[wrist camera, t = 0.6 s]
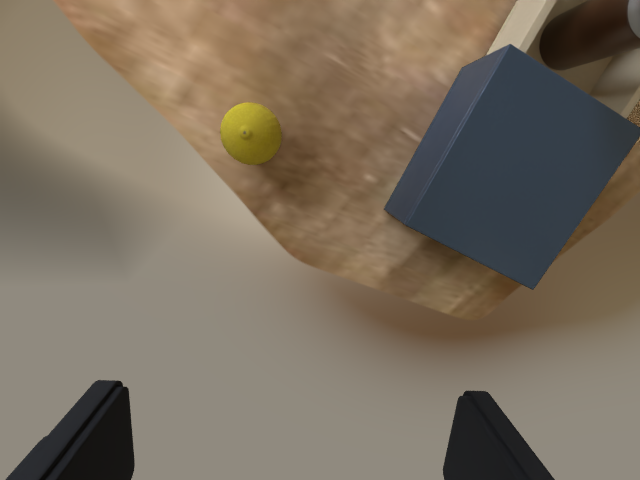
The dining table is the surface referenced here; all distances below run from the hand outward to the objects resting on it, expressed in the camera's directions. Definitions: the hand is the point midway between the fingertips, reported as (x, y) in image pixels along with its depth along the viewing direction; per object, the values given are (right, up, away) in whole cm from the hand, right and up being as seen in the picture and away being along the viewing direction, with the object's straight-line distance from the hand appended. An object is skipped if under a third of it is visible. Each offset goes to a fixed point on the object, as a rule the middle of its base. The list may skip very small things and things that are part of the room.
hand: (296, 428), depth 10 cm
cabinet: (+18, +13, +28) cm, 36 cm away
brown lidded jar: (+24, +25, +24) cm, 42 cm away
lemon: (-6, +16, +26) cm, 31 cm away
